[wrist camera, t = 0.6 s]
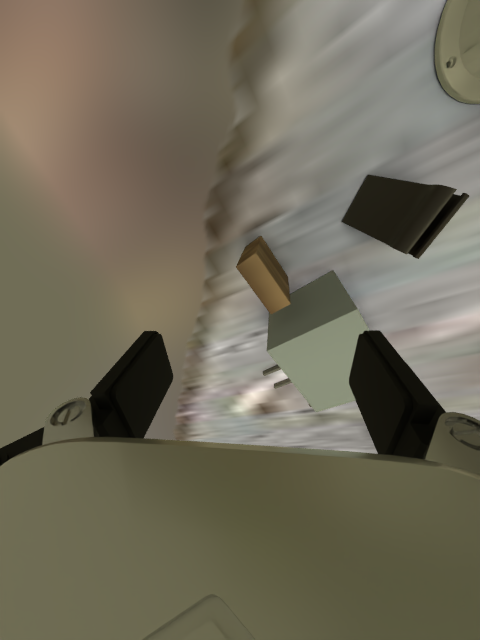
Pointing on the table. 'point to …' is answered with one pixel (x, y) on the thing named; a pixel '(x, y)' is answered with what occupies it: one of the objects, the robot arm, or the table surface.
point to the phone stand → (403, 212)
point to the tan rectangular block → (265, 275)
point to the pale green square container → (317, 342)
